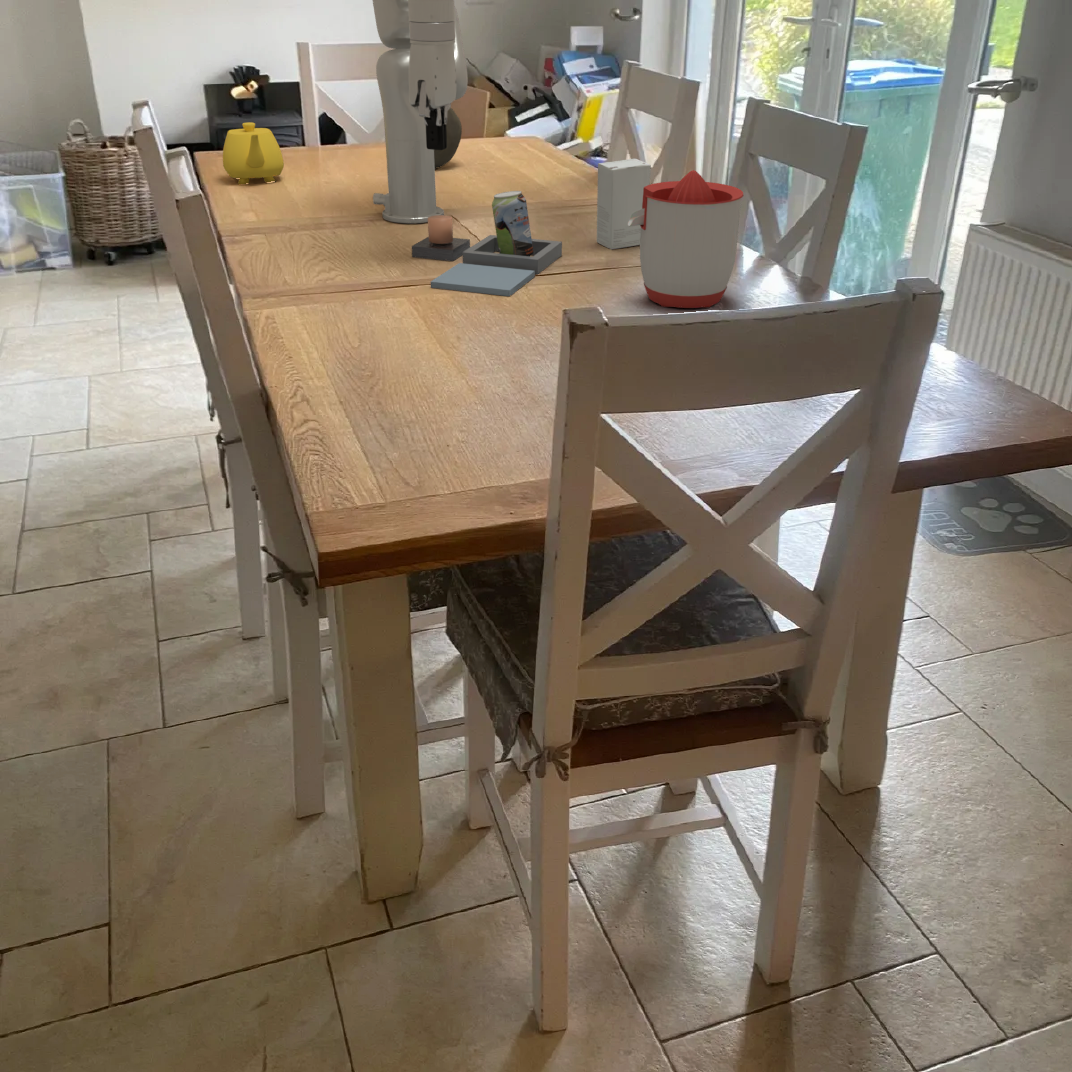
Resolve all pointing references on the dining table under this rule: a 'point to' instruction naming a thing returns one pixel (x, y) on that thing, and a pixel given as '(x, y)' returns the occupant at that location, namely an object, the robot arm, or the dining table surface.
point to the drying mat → (483, 279)
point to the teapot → (252, 154)
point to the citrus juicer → (688, 240)
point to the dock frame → (484, 255)
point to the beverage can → (512, 224)
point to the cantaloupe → (449, 139)
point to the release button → (440, 229)
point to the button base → (440, 249)
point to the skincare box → (620, 201)
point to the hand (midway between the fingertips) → (436, 148)
